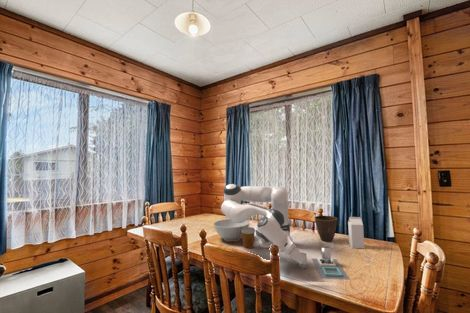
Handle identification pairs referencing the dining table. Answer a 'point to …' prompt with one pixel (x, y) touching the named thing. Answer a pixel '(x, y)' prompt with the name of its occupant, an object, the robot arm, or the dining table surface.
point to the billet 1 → (302, 266)
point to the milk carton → (356, 232)
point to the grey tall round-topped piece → (326, 255)
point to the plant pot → (326, 227)
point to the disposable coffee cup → (248, 237)
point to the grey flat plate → (330, 270)
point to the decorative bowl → (230, 229)
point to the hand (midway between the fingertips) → (303, 260)
